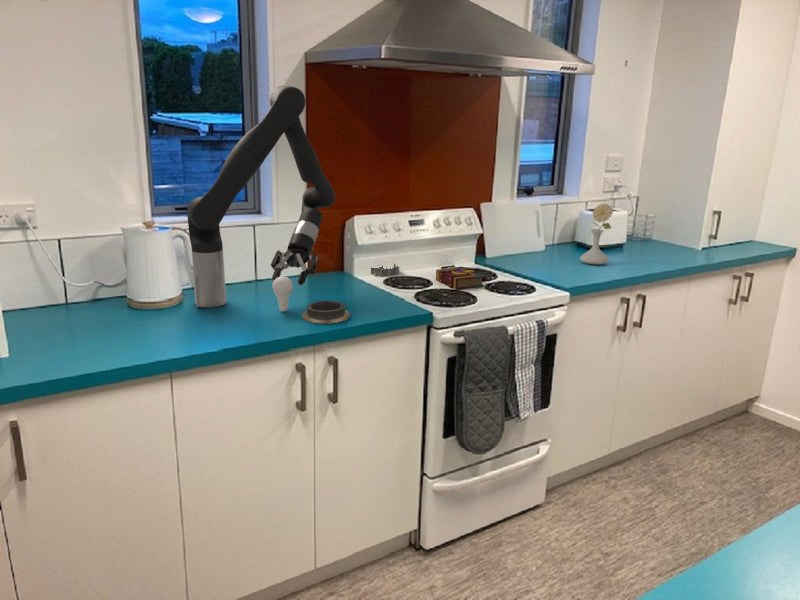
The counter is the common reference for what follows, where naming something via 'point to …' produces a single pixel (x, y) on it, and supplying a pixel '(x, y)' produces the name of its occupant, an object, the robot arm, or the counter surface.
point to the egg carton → (385, 271)
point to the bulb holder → (326, 312)
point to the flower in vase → (598, 236)
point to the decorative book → (459, 278)
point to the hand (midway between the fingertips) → (287, 282)
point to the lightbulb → (282, 291)
